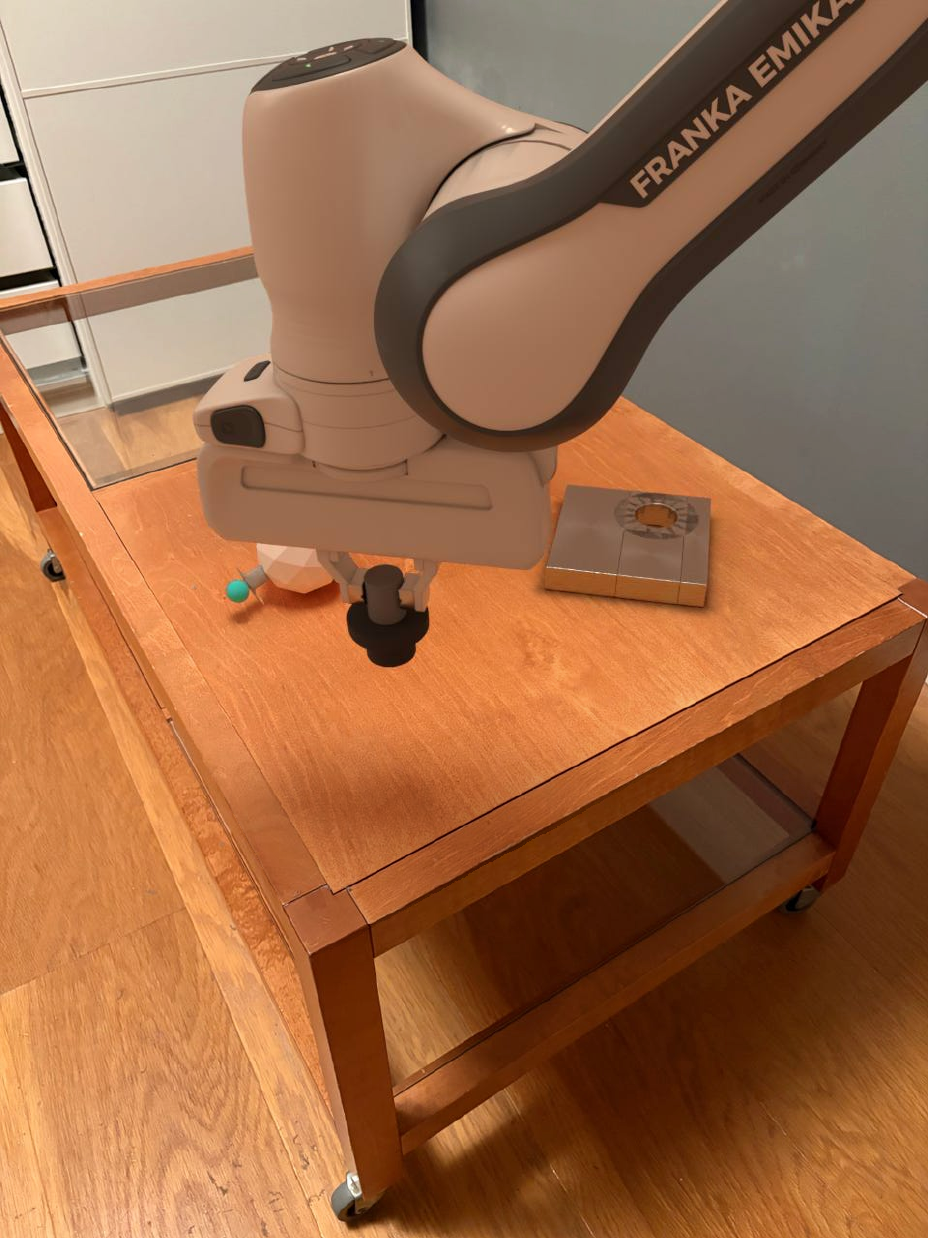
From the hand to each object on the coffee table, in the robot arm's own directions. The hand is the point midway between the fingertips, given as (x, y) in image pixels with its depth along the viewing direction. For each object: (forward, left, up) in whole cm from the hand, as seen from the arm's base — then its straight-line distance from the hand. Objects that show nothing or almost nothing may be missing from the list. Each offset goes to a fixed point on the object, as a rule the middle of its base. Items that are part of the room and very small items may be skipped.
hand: (386, 601), depth 59 cm
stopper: (0, 0, -4) cm, 4 cm away
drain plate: (-14, -30, -16) cm, 37 cm away
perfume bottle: (+16, -19, -16) cm, 29 cm away
